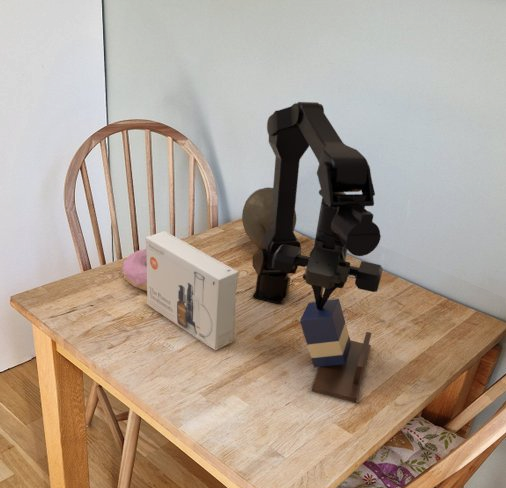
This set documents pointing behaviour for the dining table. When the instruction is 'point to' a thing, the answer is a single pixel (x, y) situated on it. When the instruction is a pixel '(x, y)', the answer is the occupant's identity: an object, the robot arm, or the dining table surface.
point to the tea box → (326, 333)
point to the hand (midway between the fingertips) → (319, 308)
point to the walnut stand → (344, 373)
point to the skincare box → (191, 289)
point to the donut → (136, 269)
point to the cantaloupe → (258, 214)
